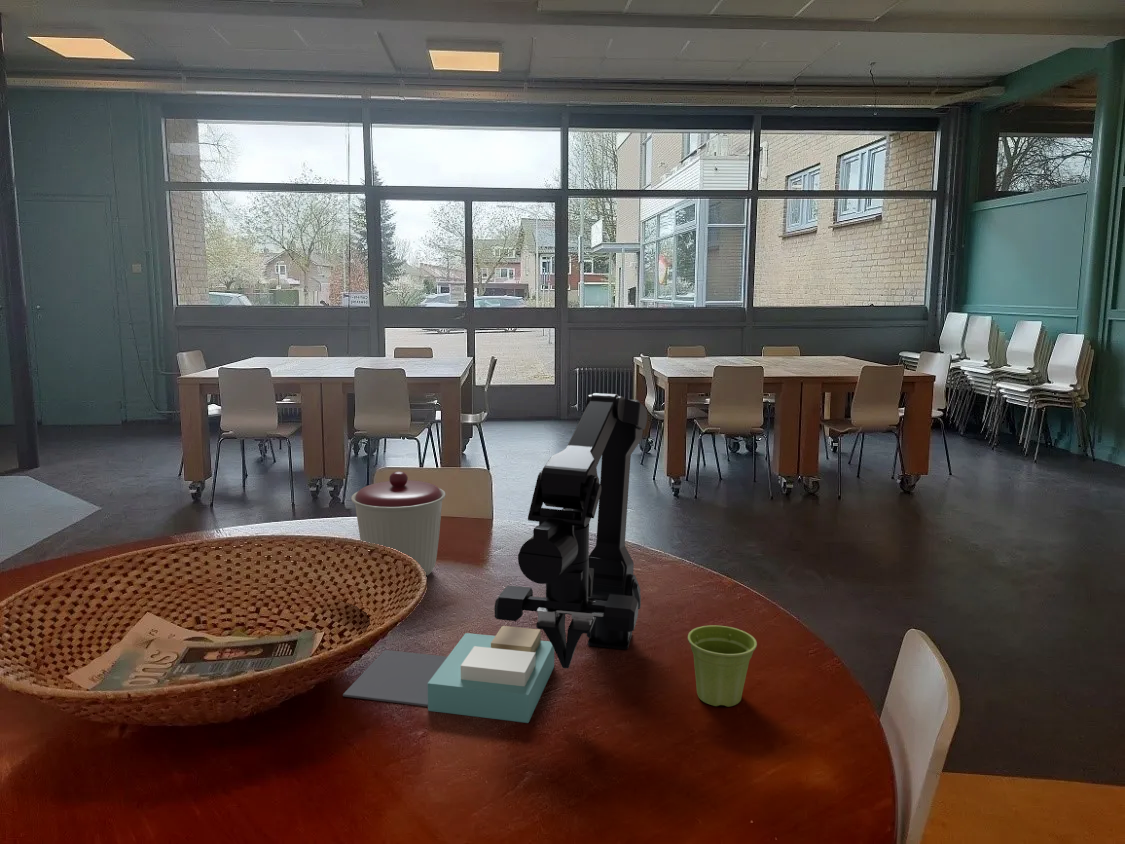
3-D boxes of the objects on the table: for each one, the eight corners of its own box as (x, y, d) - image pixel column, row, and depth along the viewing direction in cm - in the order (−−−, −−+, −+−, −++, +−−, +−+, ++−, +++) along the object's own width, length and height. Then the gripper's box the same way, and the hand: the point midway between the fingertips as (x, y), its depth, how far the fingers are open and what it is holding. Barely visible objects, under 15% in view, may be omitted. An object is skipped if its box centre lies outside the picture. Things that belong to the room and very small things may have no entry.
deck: (554, 666, 119) (554, 641, 118) (528, 722, 103) (528, 694, 103) (466, 657, 121) (465, 633, 121) (428, 710, 106) (427, 683, 105)
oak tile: (540, 642, 118) (540, 629, 118) (531, 660, 112) (531, 647, 112) (502, 638, 119) (502, 625, 119) (490, 655, 113) (490, 643, 113)
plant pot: (710, 673, 117) (713, 619, 116) (766, 697, 110) (769, 639, 109) (672, 696, 110) (674, 638, 109) (728, 722, 104) (731, 661, 102)
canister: (335, 584, 151) (330, 477, 147) (387, 555, 168) (384, 458, 164) (417, 597, 145) (414, 486, 141) (462, 565, 161) (461, 466, 158)
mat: (463, 660, 120) (463, 658, 120) (430, 706, 107) (430, 704, 107) (385, 651, 123) (385, 649, 123) (342, 696, 110) (342, 694, 109)
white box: (535, 665, 110) (535, 652, 110) (524, 686, 105) (524, 672, 104) (474, 659, 112) (474, 646, 112) (460, 679, 106) (460, 665, 106)
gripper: (643, 543, 110) (641, 647, 112) (515, 534, 113) (515, 635, 116) (634, 571, 99) (632, 685, 102) (492, 559, 103) (493, 670, 105)
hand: (566, 667), depth 106 cm, fingers closed
